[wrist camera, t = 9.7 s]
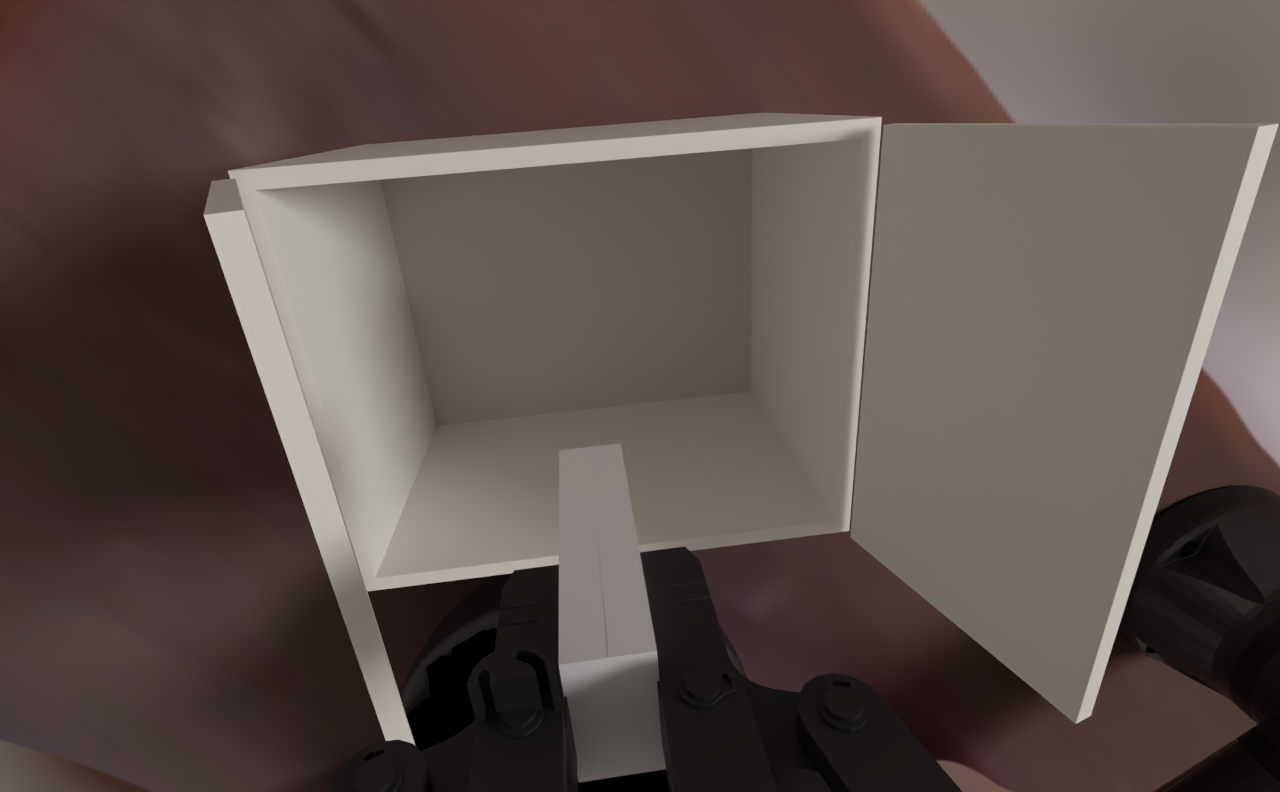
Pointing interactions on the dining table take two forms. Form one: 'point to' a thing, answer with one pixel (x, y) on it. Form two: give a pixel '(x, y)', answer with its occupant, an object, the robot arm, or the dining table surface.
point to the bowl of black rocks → (446, 667)
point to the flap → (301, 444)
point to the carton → (577, 329)
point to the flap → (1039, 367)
